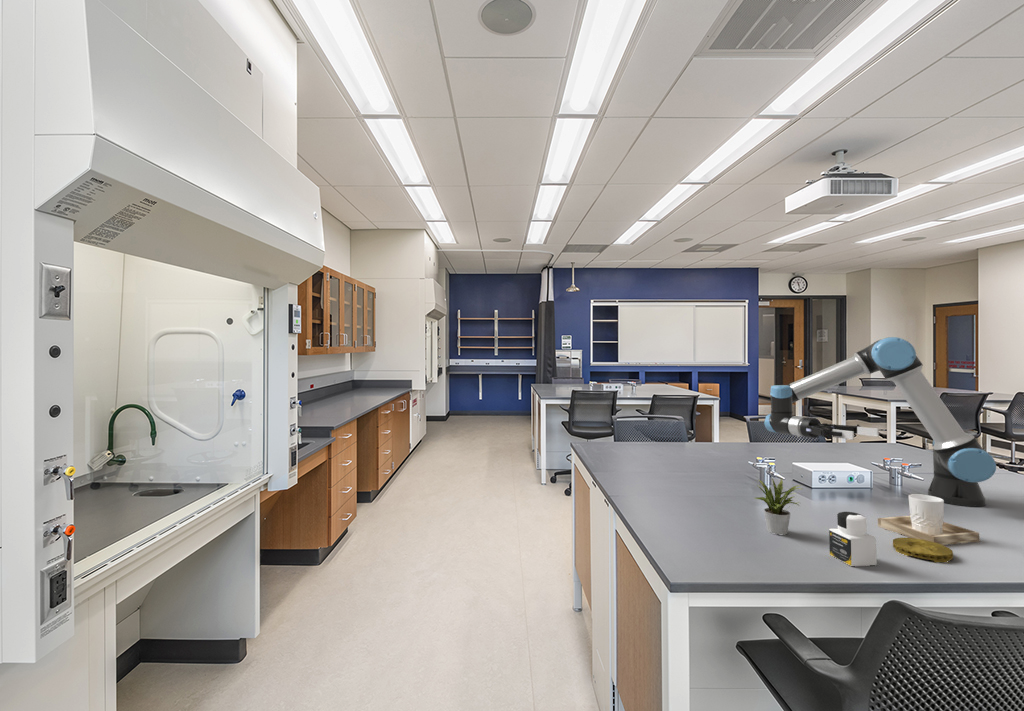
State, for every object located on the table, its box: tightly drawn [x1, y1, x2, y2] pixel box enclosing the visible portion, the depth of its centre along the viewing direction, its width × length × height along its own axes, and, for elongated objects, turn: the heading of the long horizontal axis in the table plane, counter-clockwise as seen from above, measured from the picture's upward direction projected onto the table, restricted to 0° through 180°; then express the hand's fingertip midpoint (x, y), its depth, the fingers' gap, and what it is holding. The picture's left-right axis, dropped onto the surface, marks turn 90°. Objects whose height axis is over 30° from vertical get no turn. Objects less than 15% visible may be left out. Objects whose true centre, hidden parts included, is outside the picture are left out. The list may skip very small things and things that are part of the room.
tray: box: [877, 515, 980, 546], centre depth 137 cm, size 16×16×2 cm
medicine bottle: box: [828, 511, 878, 567], centre depth 119 cm, size 7×7×12 cm
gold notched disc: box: [892, 537, 954, 563], centre depth 123 cm, size 12×12×2 cm
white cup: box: [908, 493, 945, 535], centre depth 137 cm, size 8×8×10 cm
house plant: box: [754, 476, 803, 535], centre depth 138 cm, size 14×14×16 cm
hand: (866, 434), depth 157 cm, fingers open, 13 cm apart
